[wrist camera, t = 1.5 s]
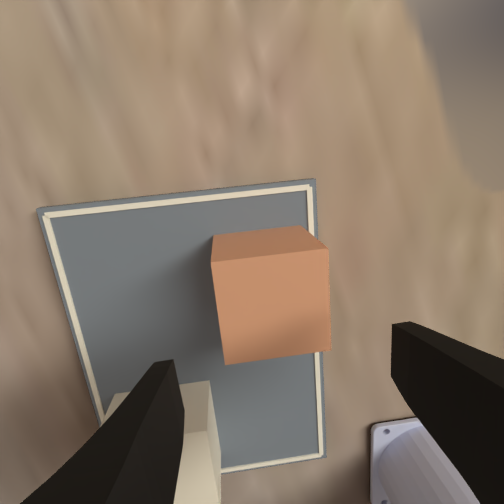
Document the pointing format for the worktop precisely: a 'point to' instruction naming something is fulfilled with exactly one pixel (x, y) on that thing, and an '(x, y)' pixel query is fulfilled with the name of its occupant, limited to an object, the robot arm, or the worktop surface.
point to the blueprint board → (185, 323)
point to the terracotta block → (271, 293)
